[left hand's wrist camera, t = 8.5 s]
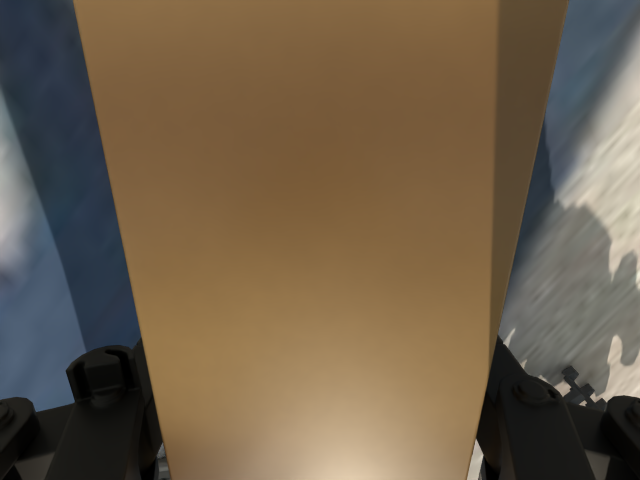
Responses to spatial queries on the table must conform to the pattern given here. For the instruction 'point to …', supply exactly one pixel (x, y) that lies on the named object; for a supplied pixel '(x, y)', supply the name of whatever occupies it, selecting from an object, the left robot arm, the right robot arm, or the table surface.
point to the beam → (319, 219)
